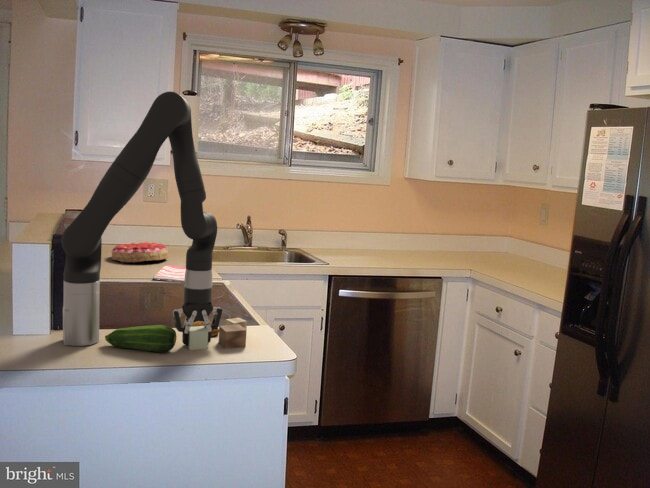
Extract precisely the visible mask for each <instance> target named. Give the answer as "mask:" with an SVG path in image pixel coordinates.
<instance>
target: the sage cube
mask: <svg viewBox="0 0 650 488" xmlns="http://www.w3.org/2000/svg"><path fill="white" fill-rule="evenodd" d="M188 333H189V346H186V347H187V348H188V349H189V350H190V351H192V350H204V349H208V347H209V344H208V330H207V329H206V328H205V327H204V326H194V327H190V329H189V332H188Z"/></svg>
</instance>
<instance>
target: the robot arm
mask: <svg viewBox="0 0 650 488" xmlns="http://www.w3.org/2000/svg"><path fill="white" fill-rule="evenodd" d="M192 122H193V121H192V108H191V105H190V103H189V102H188V100H187V99H186V98H184V97H183V96H182V95H181V94H180V93H178V92H176V91H164V92H162V93H160V94H159V95H158V96H157V97H156V98H155V99H154V101H153V103H152V104H151V106H150V108H149V110H148V112H147V113H146V115H145V117H144V119H143V121H142V122H141V124H140V126H139V128H138V129H137V130H136V132H135V133H134V134H133V136H131V138H130V139H129V140H128V142H127V143H126V144H125V145H124V147H123V148H122V150H121V151H120V153H119V154H118V155H117V156H116V158H115V159H114V160H113V161H112V163H111V165H110V166H109V167H108V169H107V171H106V172H105V173H104V175H103V177H102V178H101V180H100V181H99V183H98V185H97V187H96V188H95V190H94V191H93V193H92V196H91V197H90V200H89V201H88V202H87V204H86V205H85V207H83V208H82V210H81V212H80V213H79V214H78V215H77V216H76V217H75V219H73V221H72V222H71V223H70V224H69V225H68V226H67V227H66V228H65V229H64V231H63V232H62V234H61V246H62V248H63V251H64V253H65V264H64V267H63V268H64V269H63V305H62V342H63V345H64V346H73V347H80V346H81V347H82V346H84V347H85V346H90V345H95V344H97V343H98V342H99V341H100V297H101V296H100V290H101V289H100V288H101V287H100V285H101V284H100V282H101V281H100V279H101V277H100V276H101V268H102V248H103V247H102V246H103V245H102V244H103V243H102V242H103V241H102V236H103V234H104V233H105V231H106V229H107V227H108V226H109V224H110V223H111V222H112V220H113V219H114V217H116V216H117V214H118V213H119V212H120V211H121V210H123V208H124V207H125V206H126V205H127V203H129V201H130V200H132V198H133V197H134V196H135V194H136V193H137V192H138V190H139V189H140V187H141V186H142V185H143V183H145V180H146V179H147V178H148V176H149V174H150V172H151V169H152V168H153V166H154V163H155V161H156V158H157V156H158V153H159V151H160V149H161V147H162V146H163V144H164V143H165V141H166V140H167V139H168V141H169V143H170V147H171V152H172V160H173V170H174V173H173V174H174V178H175V179H174V180H175V183H176V187H177V192H178V195H179V199H180V224H181V228H182V231H183V232H184V234H185V236H186V237H187V238H189V239H190V240H192V243H191V246H190V247H189V248H188V249H187V251H186V254H185V267H186V271H185V280H184V282H183V286H184V287H183V305H182V307H181V308H179V309H178V308H177V309H176V308H173V309H172V317H173V318H172V319H173V321H174V326H175V329H176V330H177V332H179V333H182V336H181V337H182V339H181V341H182V344H183V345H184V346H185V347H187V346H189V333H188V332H189V329H190V327H191V326H192V324H193V322H196V321H203V323H204V326H205V328H206V329H207V330H208V345H209V343H211V339H212V336H211V331H212V330H214V329H217V328H218V329H219V326H220V325H219V324H220V322H221V317H222V314H223V309H222V308H221V307H220V306H213V304H212V302H213V301H212V298H213V270H212V269H213V251H214V247H215V245H216V240H217V239H216V238H217V234H218V222H217V219H216V217H215V216H214V215H213V214H212V213H210V212H207V211H204V208H203V203H204V202H205V201H206V199H207V194H206V193H207V192H206V187H205V183H204V180H203V175H202V171H201V168H200V164H199V160H198V157H197V153H196V147H195V144H194V143H195V142H194V136H193V125H192ZM211 313H212V314H213V319H212V321H211V322H212V324H211V325H210V322H209V321H210V320H209V316H210V314H211ZM182 314H184V316H185V319H184V323H183V325H182V323H181V317H182Z"/></svg>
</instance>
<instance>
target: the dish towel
mask: <svg viewBox="0 0 650 488" xmlns="http://www.w3.org/2000/svg"><path fill="white" fill-rule="evenodd" d="M185 271H186V266H185V267H184V266H175V265H171V264H166V265H164V266H163V267H162V268H161V269H160V270H158V271H157V273H156V274H154V275H153V276H152V280H153V279H160V280H172V281H171V282H174V281H182V282H181V283H184V280H185Z"/></svg>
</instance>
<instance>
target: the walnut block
mask: <svg viewBox="0 0 650 488" xmlns="http://www.w3.org/2000/svg"><path fill="white" fill-rule="evenodd" d="M218 329H219V333H218V343H219V344H220V345H221V346H222V347H223V349H225V350H226V349H235V348H236V349H237V348H246V347H247V345H246V343H247V331H246V329H244V328H243V327H242V326H241V325H239V324H238V325H226V324H225V325H224V324H223V325H219V326H218Z"/></svg>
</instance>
